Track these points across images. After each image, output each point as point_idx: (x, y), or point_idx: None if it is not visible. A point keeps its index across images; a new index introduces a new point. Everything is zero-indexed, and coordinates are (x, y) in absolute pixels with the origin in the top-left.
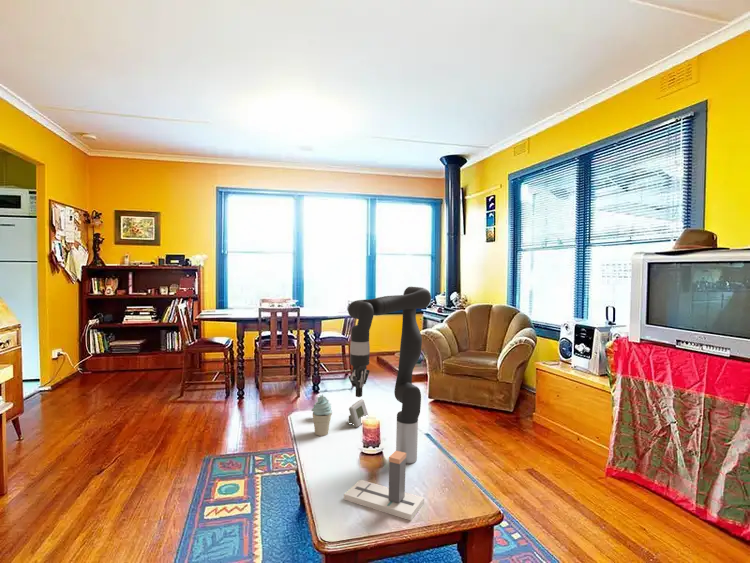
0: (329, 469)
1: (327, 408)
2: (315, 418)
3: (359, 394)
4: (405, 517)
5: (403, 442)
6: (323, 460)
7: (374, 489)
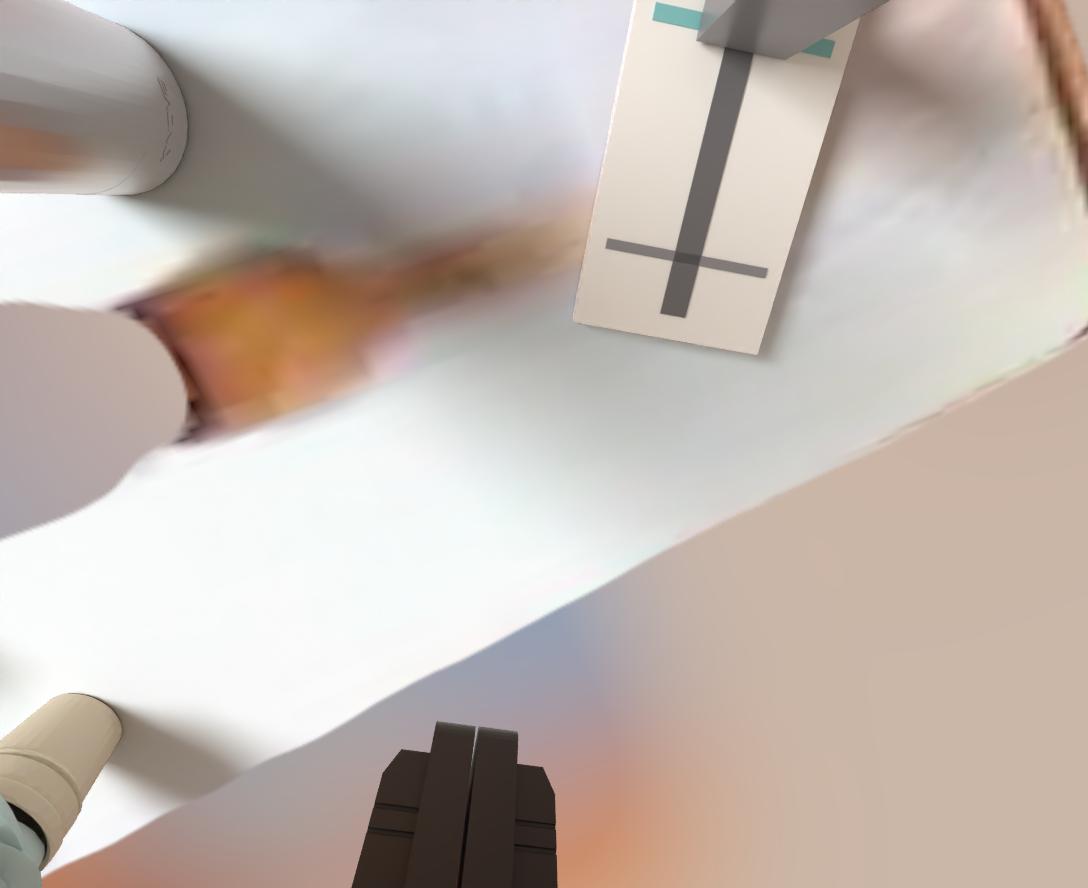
0: (469, 529)
1: None
2: (65, 831)
3: (518, 791)
4: None
5: (85, 95)
6: (387, 593)
7: (664, 197)
